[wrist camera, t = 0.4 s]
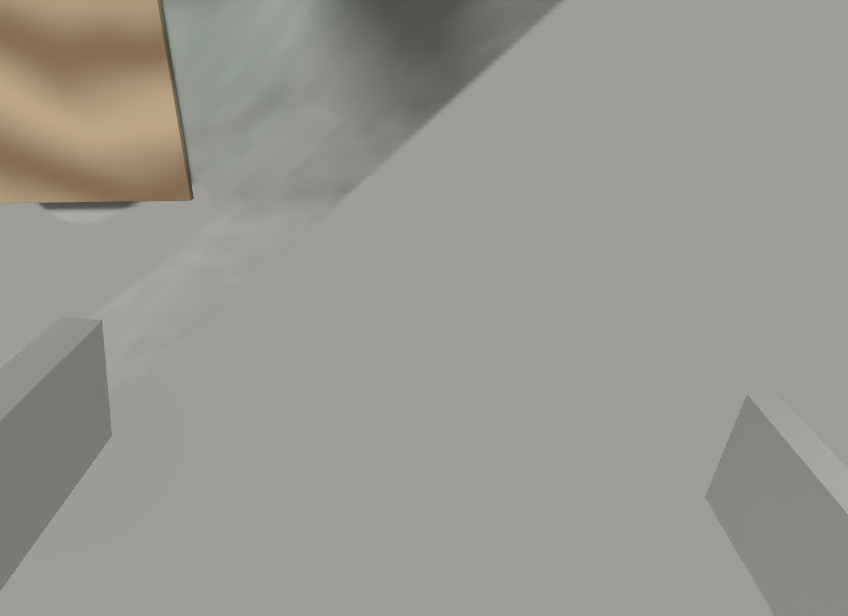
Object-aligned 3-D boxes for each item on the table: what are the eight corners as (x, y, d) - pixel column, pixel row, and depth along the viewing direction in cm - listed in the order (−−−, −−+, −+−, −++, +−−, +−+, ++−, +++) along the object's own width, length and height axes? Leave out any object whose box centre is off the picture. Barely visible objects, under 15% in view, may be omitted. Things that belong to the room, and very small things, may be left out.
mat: (-167, -173, 30) (-176, -176, 30) (131, -178, 30) (126, -181, 30) (-46, 201, 38) (-51, 203, 37) (193, 198, 38) (190, 200, 37)
